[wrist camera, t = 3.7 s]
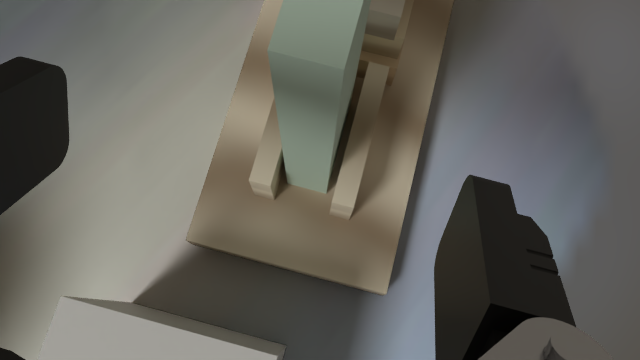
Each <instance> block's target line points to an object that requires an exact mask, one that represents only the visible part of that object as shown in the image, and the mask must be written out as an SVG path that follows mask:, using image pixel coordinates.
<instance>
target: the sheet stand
mask: <svg viewBox="0 0 640 360" xmlns="http://www.w3.org/2000/svg"><path fill="white" fill-rule="evenodd" d="M285 349H286V345H283V344H279V343H275V342H272V341H268V340H264V339H261V338H257V337H254V336H250V335H246V334H243V333H239V332H236V331H232V330H228V329H225V328H221V327H217V326H214V325H210V324H207V323H203V322H199V321H196V320H192V319H189V318H185V317H181V316H178V315H174V314H170V313H167V312H163V311H160V310H156V309H152V308H149V307H145V306H142V305H138V304H134V303H130V302H119V301H109V300H98V299H88V298H78V297H67V296H61V297H60V300H59V302H58V305H57V308H56V310H55V313H54V315H53V318H52V321H51V323H50V326H49V329H48V331H47V334H46V337H45V339H44V342H43V345H42V347H41V350H40V353H39V355H38V358H37V360H283V356H284V353H285Z"/></svg>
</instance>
